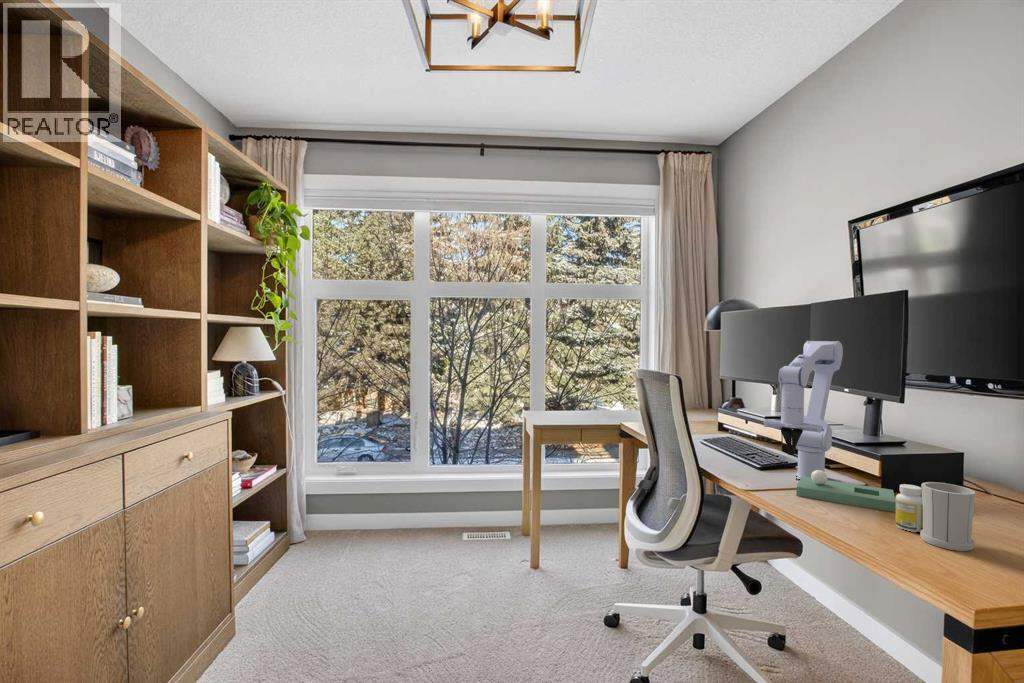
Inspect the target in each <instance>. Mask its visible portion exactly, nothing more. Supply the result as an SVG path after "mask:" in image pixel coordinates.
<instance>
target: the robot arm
mask: <svg viewBox="0 0 1024 683" xmlns="http://www.w3.org/2000/svg"><path fill="white" fill-rule="evenodd" d="M802 351H803V352H802V354H798V355H797V356H796V357H795V358H794V359H793V360H792V361H791V362H790V363H789V364H788V365H784V366H783V367H781V368H779V371H778V377H777V378H778V379H777V380H778V382H779V390H780V392H781V403H780V404H781V408H780V409H781V410H780V411H781V412H780V420H777V419H776V420H773V419H764V420H763V427H764V428H773V429H774V428H775V429H780V433H781V435H782V438H783V439H784V442H785V444H786V445H785V446H786V447H787V454H788V456H789V455H790V456H795V452H796V450H797V472H796V475H798V476H799V477H801V476H803V477H810V478H811V474H812V472H813V471H815V470H821V471H823V472H825V467H826V464H825V463H826V452H829V450H830V449H831V448H832V444H833V429H832V427H831V426H830V425H829V424H828V423H827V422H825V421H824V420H825V415H826V412H827V411H826V409H827V404H828V399H829V395H830V390H831V385H832V380H833V376H834V373H835V372H837V371H839V370H840V368H841V366H842V361H843V355H844V349H843V345H842V343H841V342H840V340H836V341H835V340H833V341H830V340H829V341H827V340H822V341H821V340H817V341H815V340H806V341H805V343H804V344H803V350H802ZM813 371H814V376H813V382H812V387H811V391H810V396H809V402H808V406H807V410H806V415H805V411H804V410H805V387H806V386H807V385H808V382H809V379H810V374H812V372H813ZM804 415H805V417H804ZM825 473H826V472H825ZM796 475H795V476H796Z"/></svg>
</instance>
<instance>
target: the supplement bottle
mask: <svg viewBox="0 0 1024 683" xmlns="http://www.w3.org/2000/svg"><path fill="white" fill-rule="evenodd" d="M899 492H900V493H898V494H896V495H895V500H896V512H895V526H896V528H898V529H899V530H902V529H904V530H903V531H905V530H907V531H906V532H909V531H911V532H910V533H916V532H920V531H921V530H922V529H923V500H922V487H921V486H918V485H914V484H906V483H903V484H902V483H901V484H899Z"/></svg>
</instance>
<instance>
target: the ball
mask: <svg viewBox="0 0 1024 683" xmlns="http://www.w3.org/2000/svg"><path fill="white" fill-rule="evenodd" d="M811 479H812V481H813V482H814V483H816V484H819V485H822V484H825V483H826V482H827V480H829V479H828V475H827V473H826V472H823V471H821V470H815V471H813V472H812V474H811Z"/></svg>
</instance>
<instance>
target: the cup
mask: <svg viewBox="0 0 1024 683" xmlns="http://www.w3.org/2000/svg"><path fill="white" fill-rule="evenodd" d="M920 487H921V489H922V493H921V497H922V500H923V529H922V530H921V531H920V535H919V536H920V538H921V540H923V541H924V542H925V541H926V542H925V543H927V544H929V545H931V544H932V546H933V547H937V548H940V547H941V548H940V549H944V548H945V550H948V549H949V551H954V550H956V551H955V552H969V550H970V551H972V550H974V549H975V541H974V540H973V538H972V536H973V519H974V517H975V510H976V509H975V507H976V503H975V502H976V495H977V494H976V491H975V490H974V489H971V488H968V487H964V486H961V485H956V484H951V483H946V482H935V481H927V482H922V483H921V486H920Z"/></svg>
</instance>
